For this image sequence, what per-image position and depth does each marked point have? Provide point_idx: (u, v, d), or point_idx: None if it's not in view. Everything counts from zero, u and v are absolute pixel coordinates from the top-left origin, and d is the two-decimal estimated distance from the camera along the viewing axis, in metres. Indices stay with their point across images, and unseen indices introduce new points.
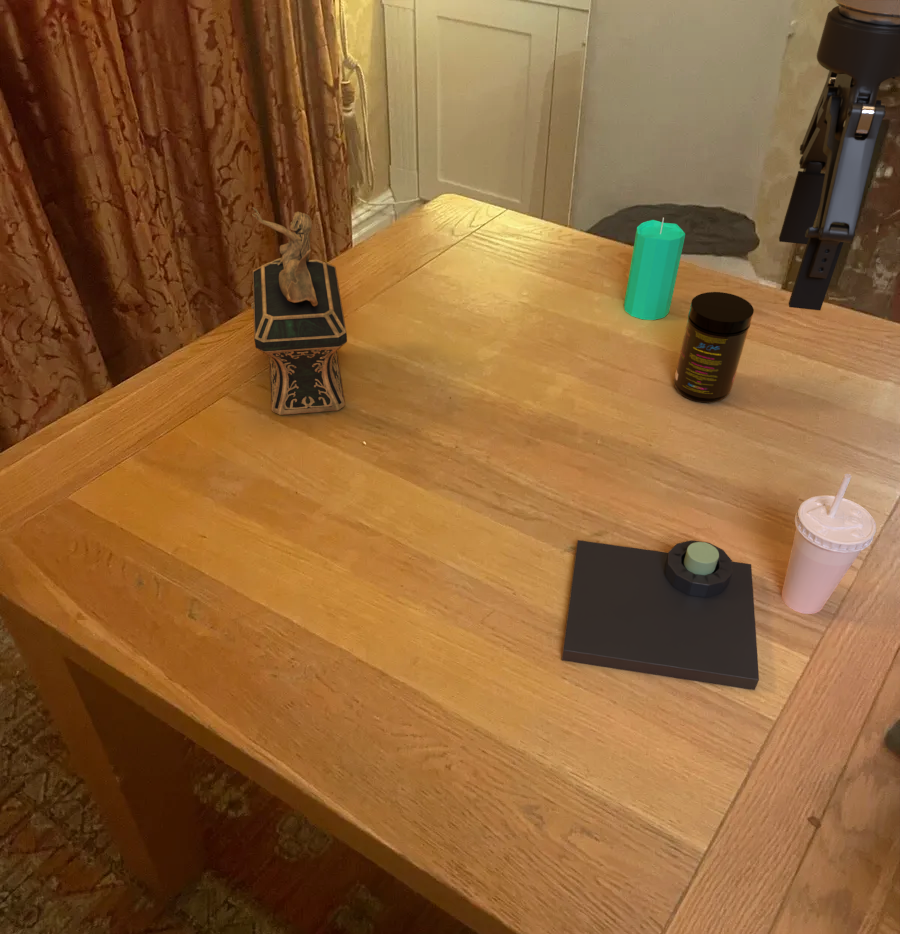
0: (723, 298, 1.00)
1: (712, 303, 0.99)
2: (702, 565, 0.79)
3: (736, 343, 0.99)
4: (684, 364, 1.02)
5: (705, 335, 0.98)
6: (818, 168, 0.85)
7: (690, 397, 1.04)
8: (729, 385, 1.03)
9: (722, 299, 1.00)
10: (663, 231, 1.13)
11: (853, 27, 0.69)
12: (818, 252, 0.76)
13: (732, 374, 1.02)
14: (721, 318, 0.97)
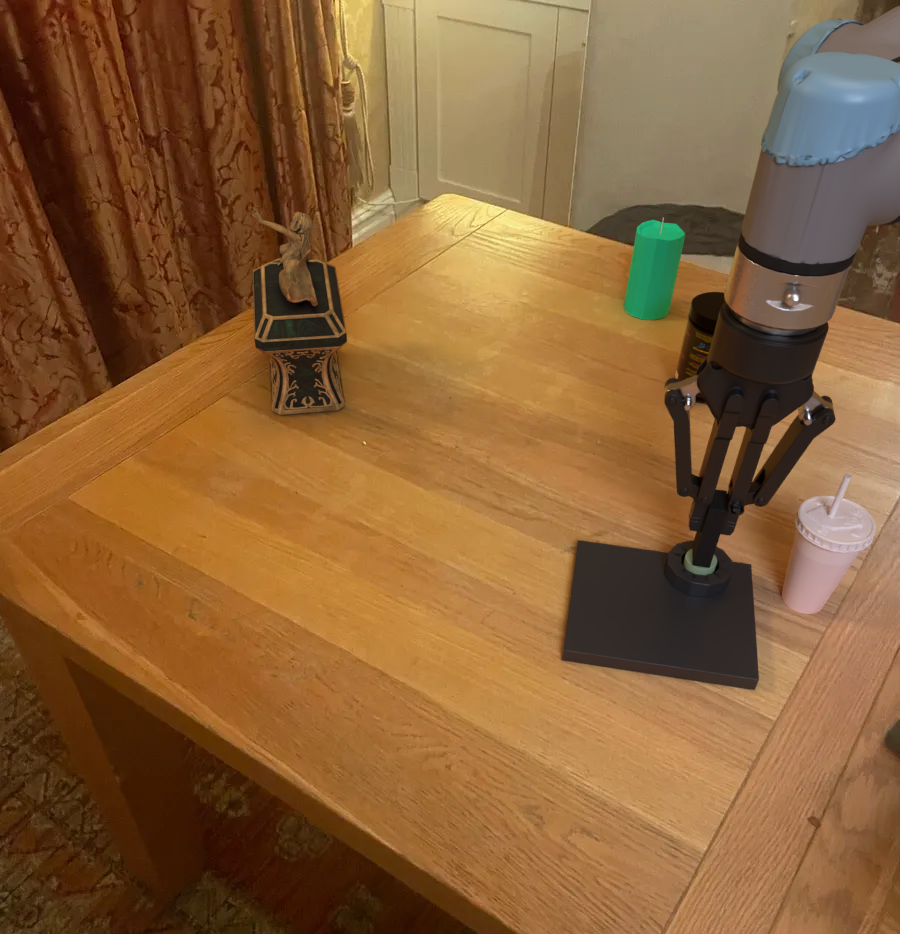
0: (723, 298, 1.00)
1: (712, 303, 0.99)
2: (700, 571, 0.80)
3: None
4: (684, 364, 1.02)
5: (705, 335, 0.98)
6: None
7: None
8: None
9: (722, 299, 1.00)
10: (663, 231, 1.13)
11: (818, 338, 0.62)
12: (738, 515, 0.76)
13: None
14: None
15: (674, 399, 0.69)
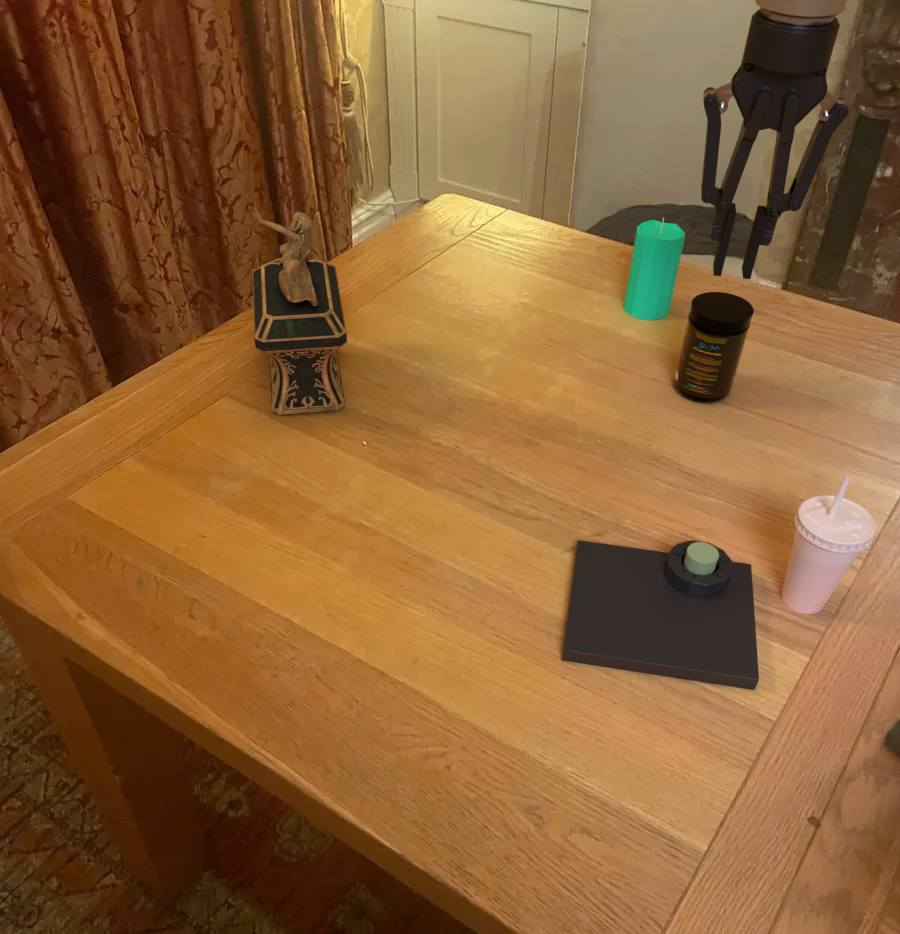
0: (723, 298, 1.00)
1: (712, 303, 0.99)
2: (702, 565, 0.79)
3: (736, 343, 0.99)
4: (684, 364, 1.02)
5: (705, 335, 0.98)
6: None
7: (690, 397, 1.04)
8: (729, 385, 1.03)
9: (722, 299, 1.00)
10: (663, 231, 1.13)
11: (832, 29, 0.77)
12: (775, 224, 0.91)
13: (732, 374, 1.02)
14: (721, 318, 0.97)
15: (711, 99, 0.84)
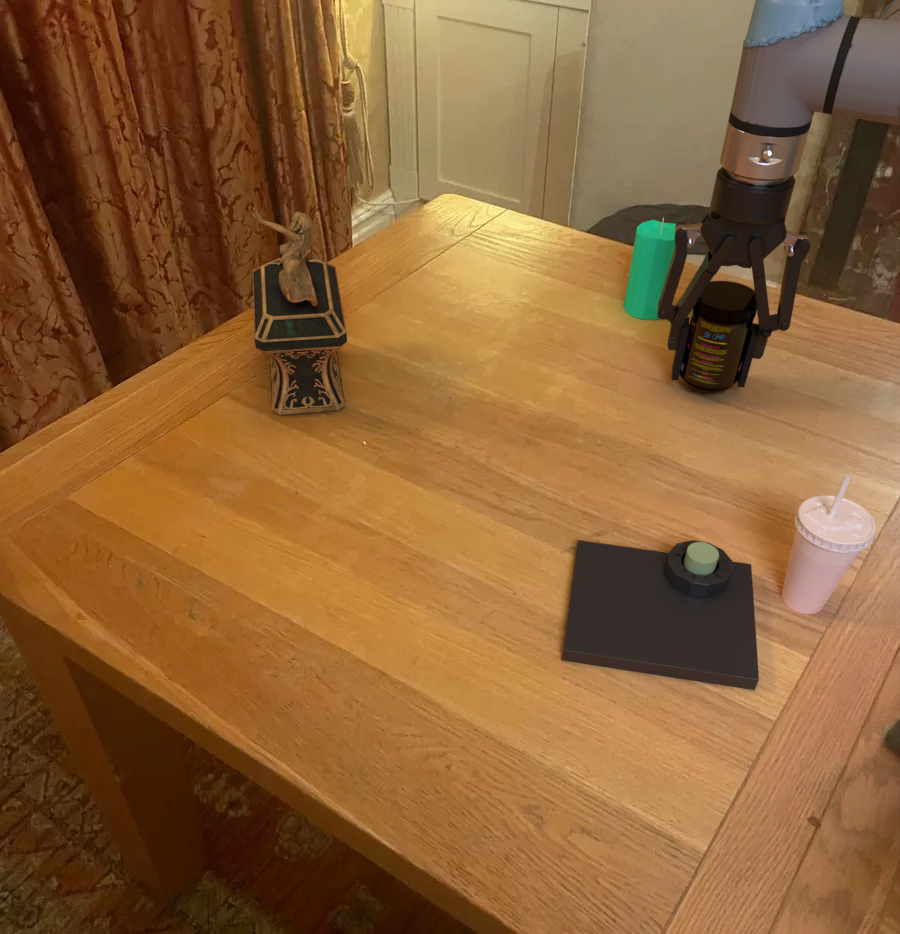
0: (728, 286, 0.99)
1: (717, 291, 0.98)
2: (702, 565, 0.79)
3: (742, 332, 0.98)
4: (689, 354, 1.01)
5: (711, 324, 0.97)
6: None
7: (696, 387, 1.03)
8: (736, 375, 1.02)
9: (727, 288, 0.99)
10: (663, 231, 1.13)
11: (787, 188, 0.87)
12: (766, 341, 1.00)
13: (738, 364, 1.01)
14: (726, 307, 0.96)
15: (682, 235, 0.93)
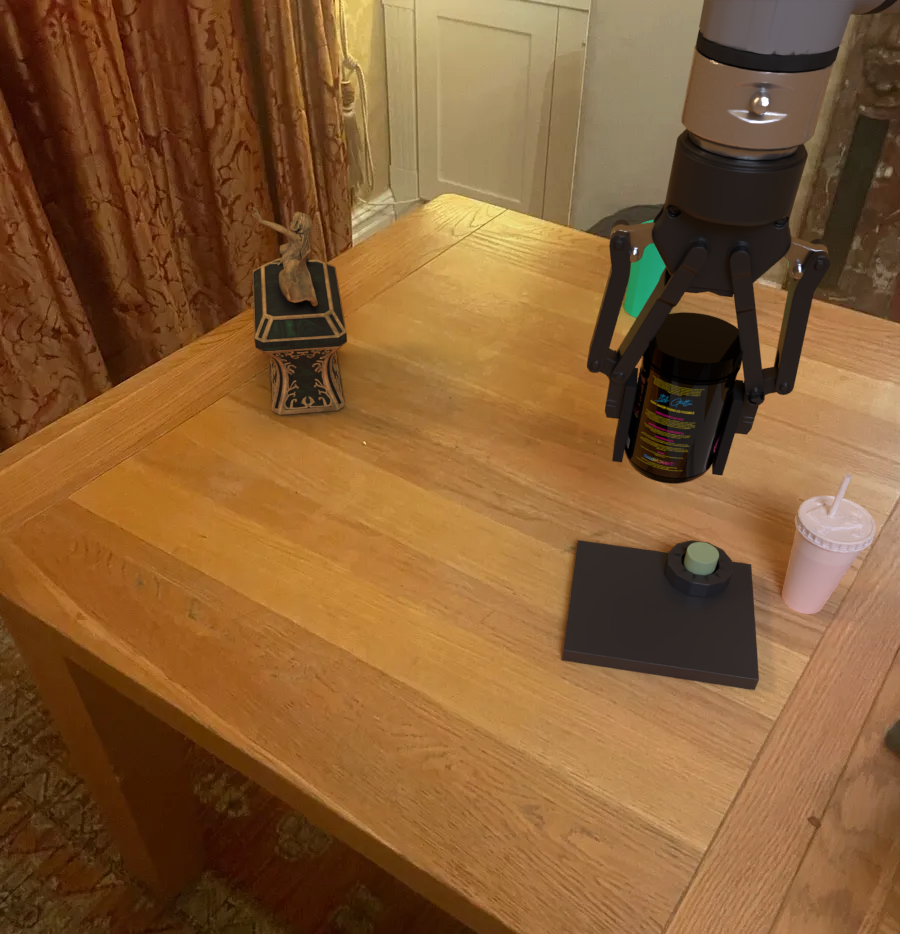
0: (698, 322, 0.63)
1: (680, 330, 0.62)
2: (702, 565, 0.79)
3: (719, 395, 0.62)
4: (637, 425, 0.65)
5: (669, 382, 0.61)
6: None
7: (648, 475, 0.67)
8: (709, 457, 0.66)
9: (697, 324, 0.63)
10: None
11: (795, 165, 0.51)
12: (757, 408, 0.64)
13: (713, 442, 0.65)
14: (694, 357, 0.60)
15: (622, 242, 0.57)
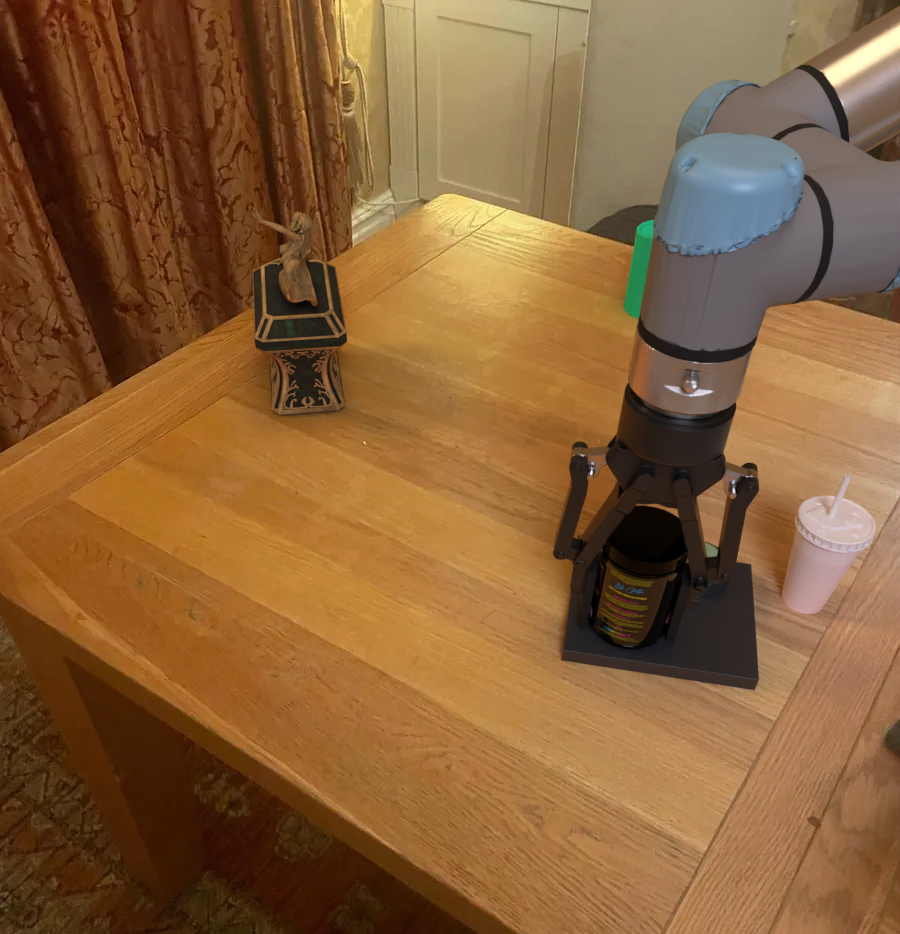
0: (650, 517, 0.72)
1: (634, 526, 0.71)
2: None
3: (668, 584, 0.70)
4: (598, 601, 0.74)
5: (624, 575, 0.70)
6: None
7: (609, 642, 0.75)
8: (662, 628, 0.75)
9: (649, 519, 0.71)
10: None
11: (724, 421, 0.60)
12: None
13: (665, 617, 0.74)
14: (644, 556, 0.68)
15: (579, 465, 0.65)
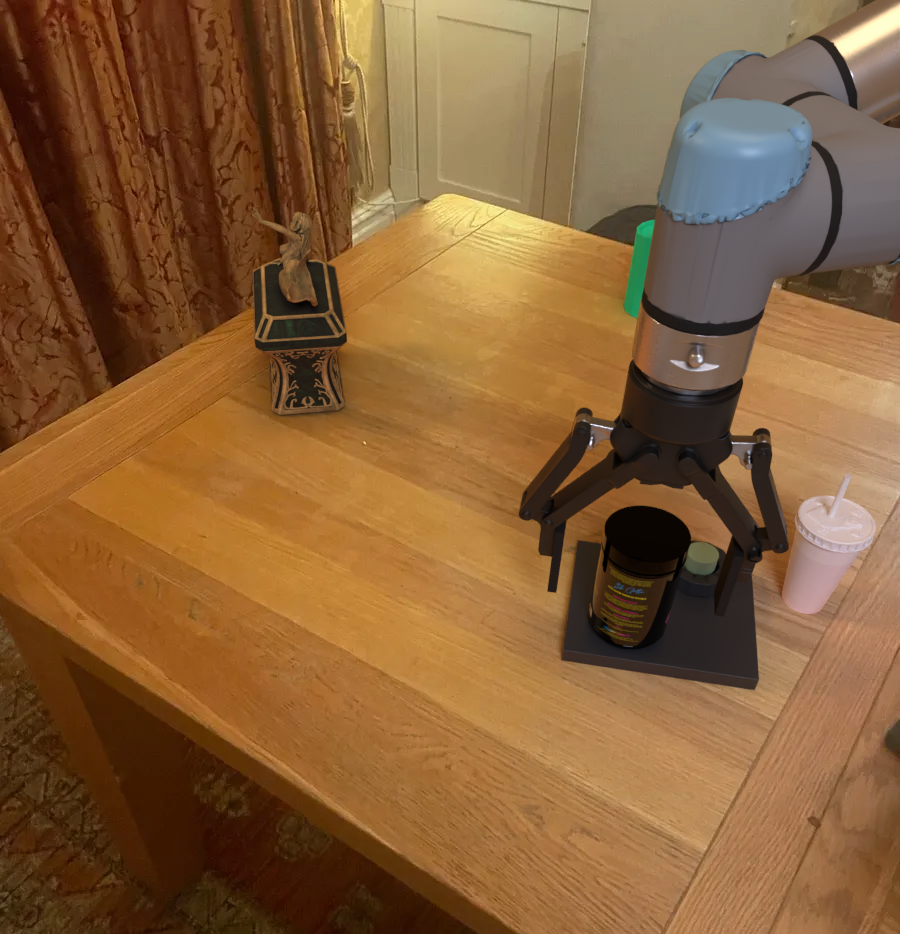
0: (650, 517, 0.72)
1: (634, 526, 0.71)
2: (702, 565, 0.79)
3: (667, 584, 0.70)
4: (598, 601, 0.74)
5: (623, 575, 0.70)
6: None
7: (608, 642, 0.75)
8: (662, 628, 0.75)
9: (648, 519, 0.71)
10: None
11: (730, 397, 0.58)
12: None
13: (665, 617, 0.74)
14: (644, 556, 0.68)
15: (585, 433, 0.63)
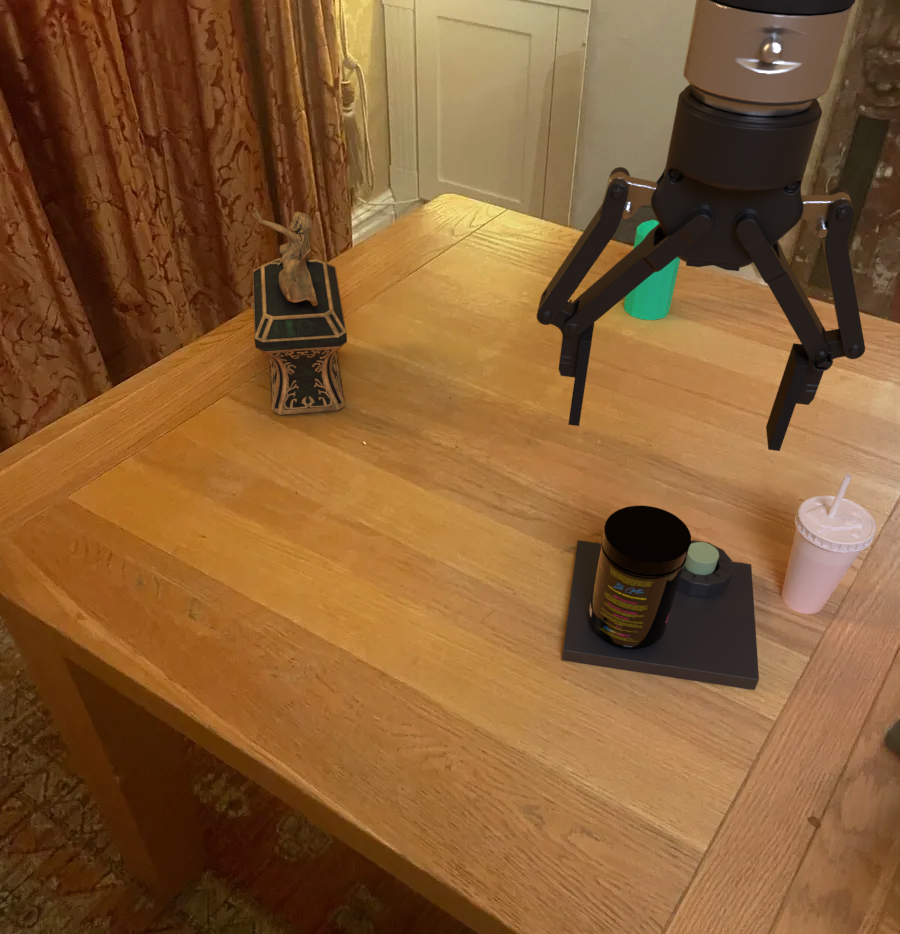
0: (650, 517, 0.72)
1: (634, 526, 0.71)
2: (702, 565, 0.79)
3: (667, 584, 0.70)
4: (598, 601, 0.74)
5: (623, 575, 0.70)
6: None
7: (608, 642, 0.75)
8: (662, 628, 0.75)
9: (648, 519, 0.71)
10: None
11: (808, 122, 0.46)
12: (821, 375, 0.58)
13: (665, 617, 0.74)
14: (644, 556, 0.68)
15: (621, 191, 0.51)
